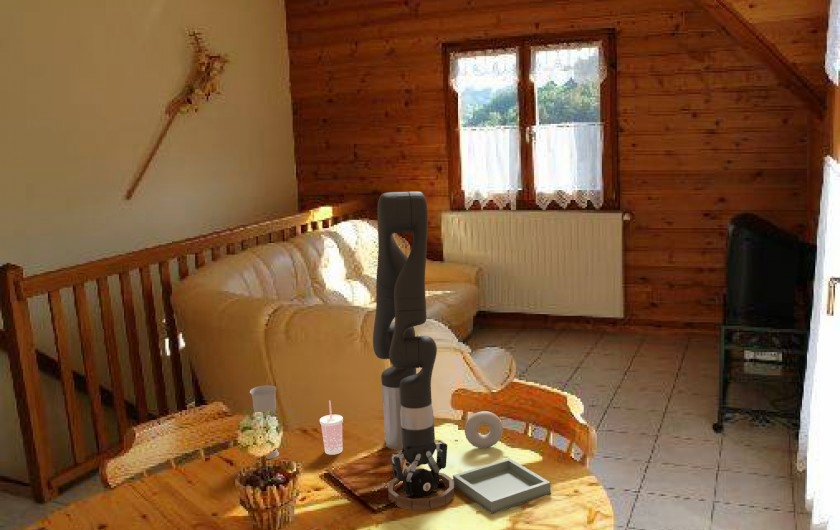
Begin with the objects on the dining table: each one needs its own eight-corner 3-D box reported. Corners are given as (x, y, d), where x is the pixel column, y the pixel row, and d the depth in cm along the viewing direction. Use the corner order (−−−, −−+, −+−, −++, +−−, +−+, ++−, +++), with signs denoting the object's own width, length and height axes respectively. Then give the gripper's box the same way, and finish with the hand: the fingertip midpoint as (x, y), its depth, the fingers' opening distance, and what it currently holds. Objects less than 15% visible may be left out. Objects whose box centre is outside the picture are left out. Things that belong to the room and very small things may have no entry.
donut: (466, 452, 208) (464, 415, 206) (464, 447, 212) (462, 410, 210) (504, 448, 209) (503, 412, 207) (502, 443, 213) (500, 407, 211)
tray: (453, 486, 190) (452, 475, 189) (509, 468, 197) (509, 458, 197) (491, 513, 176) (491, 501, 176) (550, 493, 184) (550, 482, 183)
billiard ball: (416, 502, 183) (414, 478, 182) (404, 492, 188) (402, 468, 187) (439, 495, 186) (438, 471, 185) (427, 485, 191) (425, 462, 190)
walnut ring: (378, 490, 190) (377, 481, 190) (433, 473, 197) (433, 465, 197) (408, 516, 177) (407, 507, 177) (466, 497, 184) (466, 488, 184)
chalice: (276, 461, 210) (270, 395, 206) (251, 460, 211) (245, 394, 208) (286, 449, 217) (280, 385, 213) (262, 448, 218) (256, 384, 215)
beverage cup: (350, 448, 215) (346, 398, 212) (335, 457, 210) (331, 406, 207) (332, 444, 218) (327, 395, 216) (317, 453, 213) (313, 402, 211)
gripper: (436, 410, 190) (440, 477, 193) (381, 424, 184) (386, 493, 187) (453, 419, 184) (456, 488, 187) (396, 434, 177) (401, 506, 180)
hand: (421, 490), depth 187 cm, fingers closed on billiard ball, 6 cm apart
